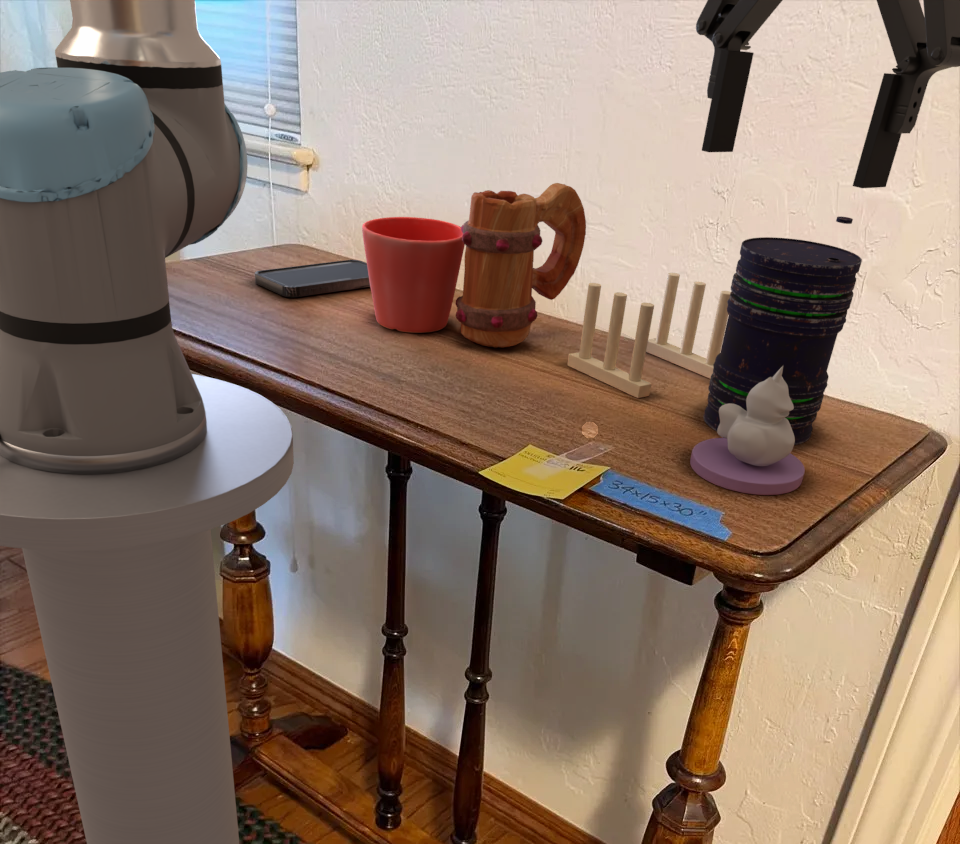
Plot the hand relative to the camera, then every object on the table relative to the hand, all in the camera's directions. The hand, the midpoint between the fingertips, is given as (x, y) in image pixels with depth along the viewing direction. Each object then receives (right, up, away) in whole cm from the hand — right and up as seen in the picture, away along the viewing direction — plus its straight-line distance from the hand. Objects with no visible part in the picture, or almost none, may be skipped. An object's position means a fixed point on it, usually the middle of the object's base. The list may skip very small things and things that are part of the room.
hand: (788, 168), depth 68 cm
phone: (-41, +9, +45) cm, 62 cm away
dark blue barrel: (+3, -14, +18) cm, 23 cm away
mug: (-19, -2, +34) cm, 38 cm away
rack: (-5, -7, +28) cm, 29 cm away
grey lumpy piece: (-1, -19, +9) cm, 21 cm away
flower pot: (-30, +1, +35) cm, 46 cm away
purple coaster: (-1, -20, +9) cm, 22 cm away
